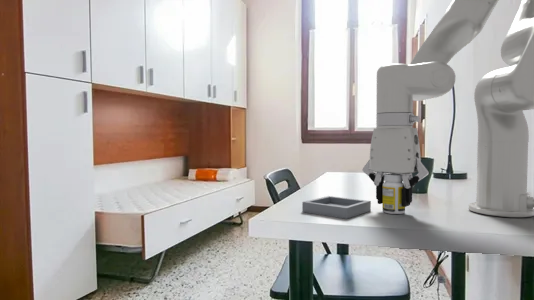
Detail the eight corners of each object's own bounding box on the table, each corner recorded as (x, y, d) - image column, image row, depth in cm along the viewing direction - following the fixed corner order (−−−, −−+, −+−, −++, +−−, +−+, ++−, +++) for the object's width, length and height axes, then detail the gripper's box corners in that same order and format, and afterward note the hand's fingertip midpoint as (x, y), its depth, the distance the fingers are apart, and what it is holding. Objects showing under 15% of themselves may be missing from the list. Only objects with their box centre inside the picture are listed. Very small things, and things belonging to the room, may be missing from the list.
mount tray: (370, 210, 86) (370, 201, 86) (346, 218, 78) (346, 208, 78) (328, 204, 93) (328, 196, 93) (302, 211, 85) (302, 201, 85)
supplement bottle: (402, 210, 86) (402, 173, 86) (407, 214, 82) (408, 175, 81) (380, 210, 87) (380, 173, 86) (384, 214, 82) (385, 175, 82)
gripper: (440, 121, 81) (439, 206, 81) (366, 123, 92) (365, 198, 92) (428, 120, 75) (427, 212, 76) (351, 122, 86) (350, 202, 87)
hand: (393, 203), depth 84 cm, fingers closed on supplement bottle, 4 cm apart
